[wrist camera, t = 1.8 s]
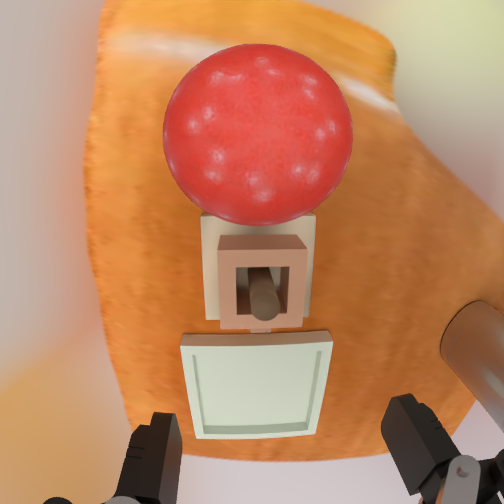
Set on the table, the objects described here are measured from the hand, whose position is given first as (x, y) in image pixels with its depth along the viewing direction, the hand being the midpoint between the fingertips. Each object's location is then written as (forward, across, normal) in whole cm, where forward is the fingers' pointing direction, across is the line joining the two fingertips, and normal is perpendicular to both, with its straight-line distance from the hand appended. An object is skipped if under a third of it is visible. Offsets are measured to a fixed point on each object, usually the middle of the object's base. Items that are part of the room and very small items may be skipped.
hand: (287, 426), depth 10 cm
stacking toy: (+18, +1, -10) cm, 20 cm away
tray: (+17, 0, +14) cm, 22 cm away
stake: (+17, 0, 0) cm, 17 cm away
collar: (+16, 0, 0) cm, 16 cm away
